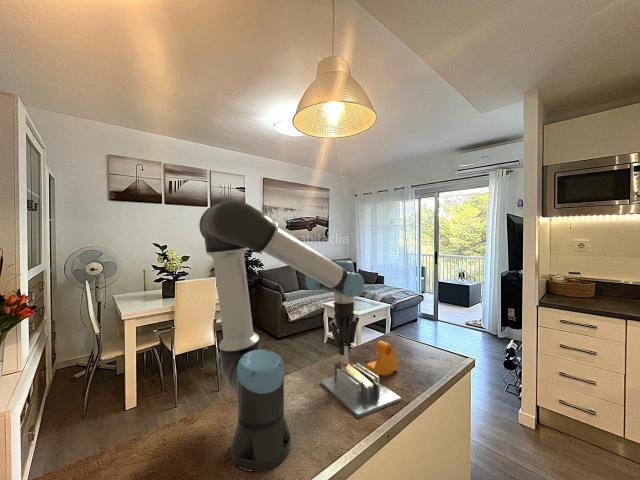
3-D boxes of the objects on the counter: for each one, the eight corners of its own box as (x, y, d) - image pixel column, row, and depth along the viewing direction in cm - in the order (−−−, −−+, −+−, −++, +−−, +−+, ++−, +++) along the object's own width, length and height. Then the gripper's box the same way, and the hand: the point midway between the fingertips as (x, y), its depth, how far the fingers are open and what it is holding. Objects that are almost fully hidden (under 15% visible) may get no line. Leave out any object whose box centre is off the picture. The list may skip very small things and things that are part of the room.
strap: (375, 388, 92) (376, 385, 92) (368, 391, 91) (368, 388, 91) (346, 364, 107) (346, 361, 107) (339, 366, 106) (339, 363, 105)
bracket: (385, 364, 119) (385, 336, 119) (398, 371, 113) (398, 341, 113) (366, 370, 114) (366, 341, 114) (378, 377, 108) (377, 347, 108)
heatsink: (400, 400, 93) (400, 381, 93) (357, 417, 84) (357, 396, 84) (358, 371, 113) (358, 356, 113) (320, 383, 104) (320, 366, 104)
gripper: (334, 305, 99) (335, 371, 100) (363, 301, 105) (364, 362, 106) (324, 301, 105) (324, 362, 106) (352, 297, 112) (352, 354, 113)
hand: (344, 362), depth 106 cm, fingers closed
